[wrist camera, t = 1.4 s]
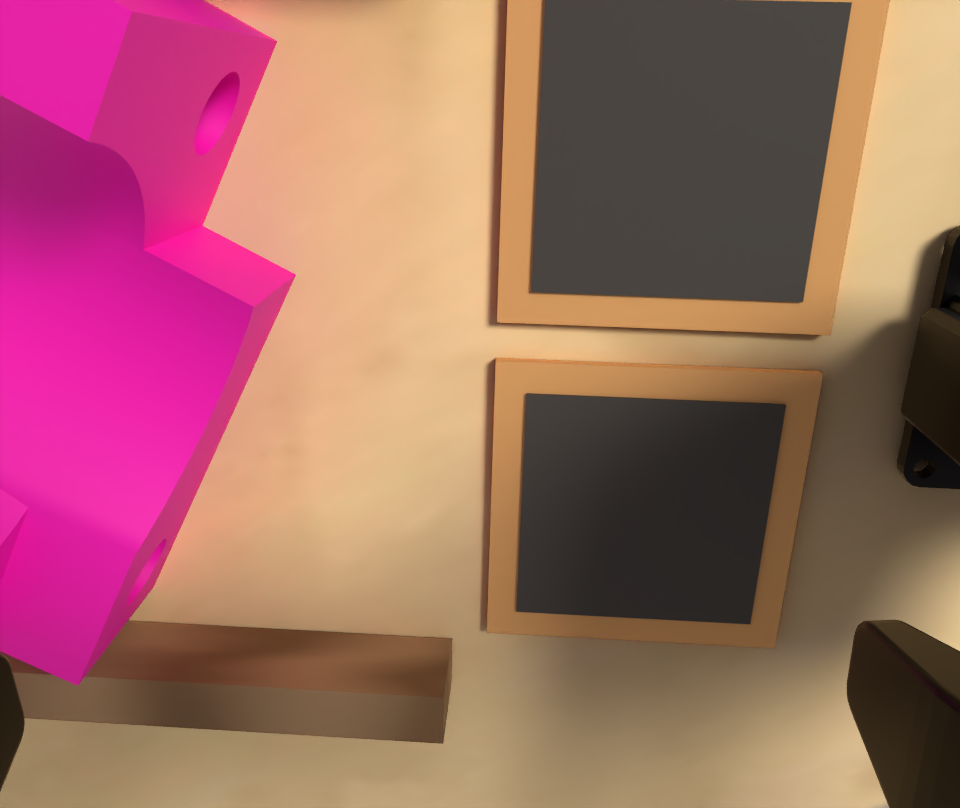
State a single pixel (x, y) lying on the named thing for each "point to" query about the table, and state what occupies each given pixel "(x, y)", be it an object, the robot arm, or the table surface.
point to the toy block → (115, 302)
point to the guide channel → (255, 682)
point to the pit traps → (667, 303)
